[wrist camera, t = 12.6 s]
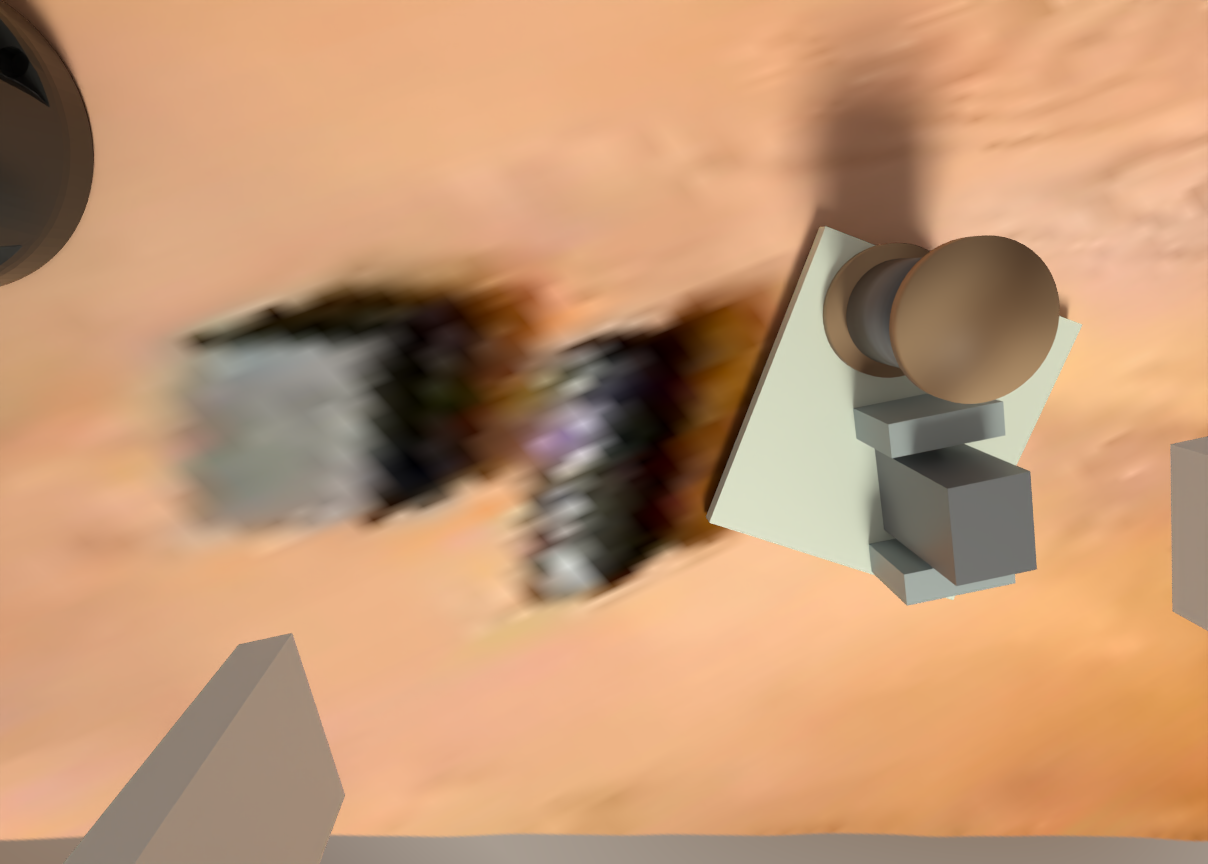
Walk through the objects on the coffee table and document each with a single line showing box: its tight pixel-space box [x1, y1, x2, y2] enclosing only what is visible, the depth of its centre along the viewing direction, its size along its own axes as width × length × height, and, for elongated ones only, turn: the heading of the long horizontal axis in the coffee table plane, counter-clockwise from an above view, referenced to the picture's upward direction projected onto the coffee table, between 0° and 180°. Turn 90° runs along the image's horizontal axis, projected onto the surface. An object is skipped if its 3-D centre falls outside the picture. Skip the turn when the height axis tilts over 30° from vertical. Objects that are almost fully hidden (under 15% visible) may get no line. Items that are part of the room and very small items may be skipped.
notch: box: [853, 394, 1015, 605], centre depth 41 cm, size 6×10×4 cm, turn 11°
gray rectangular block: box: [875, 444, 1037, 586], centre depth 39 cm, size 4×5×8 cm
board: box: [706, 226, 1082, 600], centre depth 42 cm, size 16×18×1 cm
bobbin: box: [823, 236, 1060, 404], centre depth 36 cm, size 7×7×9 cm
